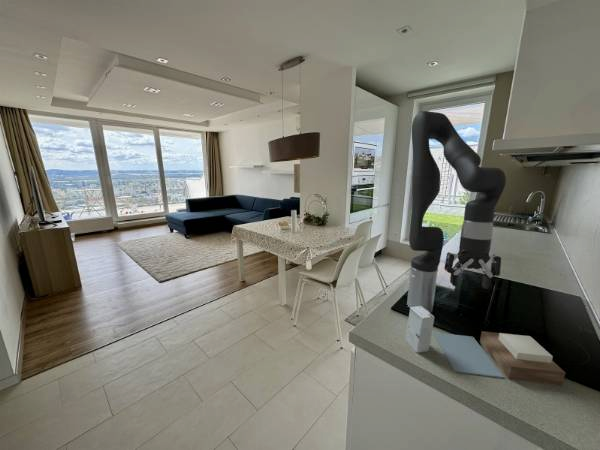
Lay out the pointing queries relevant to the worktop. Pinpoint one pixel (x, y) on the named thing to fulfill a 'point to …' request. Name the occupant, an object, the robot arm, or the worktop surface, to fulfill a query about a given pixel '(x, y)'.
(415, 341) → the skincare box
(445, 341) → the mat
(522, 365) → the stand
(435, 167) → the robot arm
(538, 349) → the coaster
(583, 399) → the worktop surface
